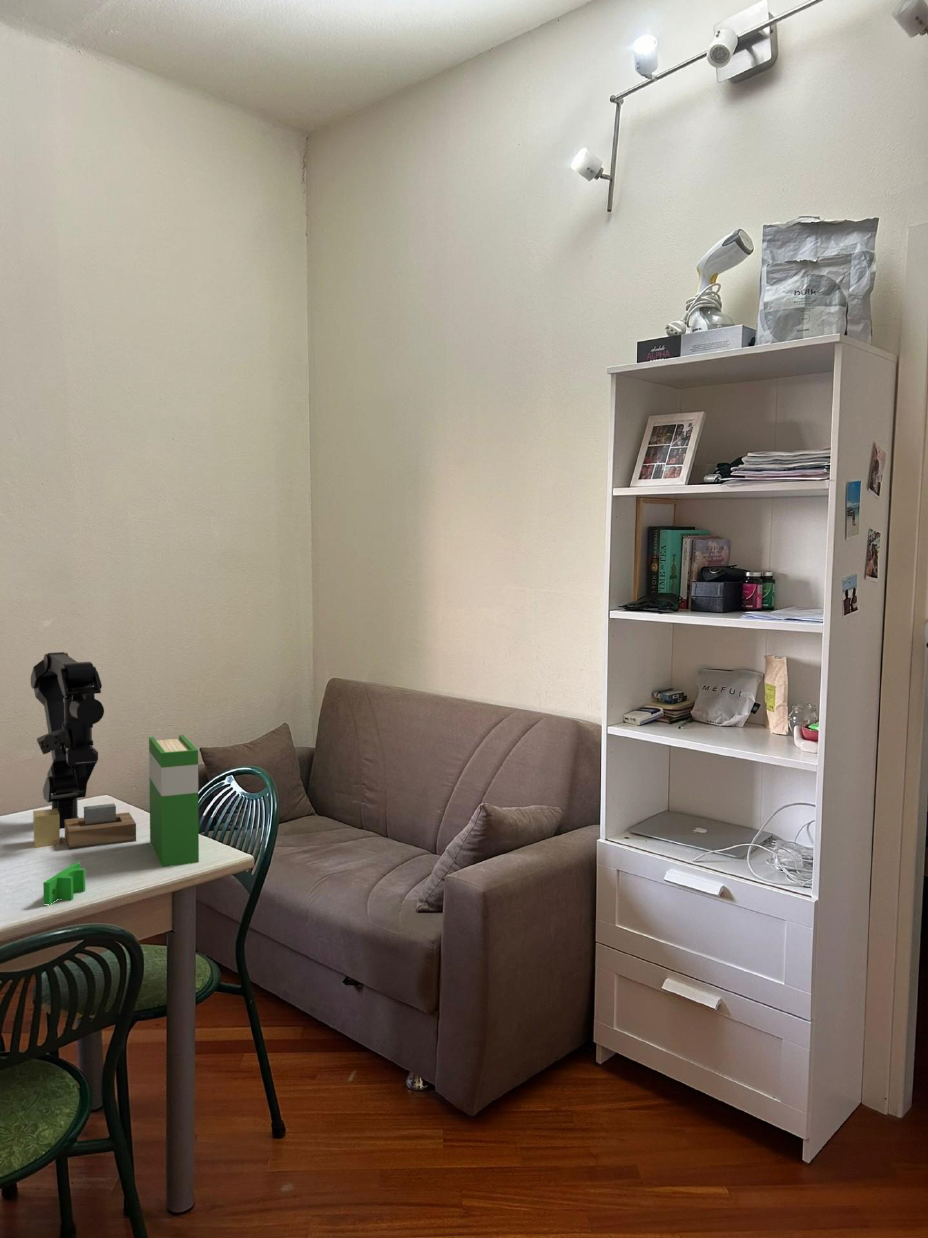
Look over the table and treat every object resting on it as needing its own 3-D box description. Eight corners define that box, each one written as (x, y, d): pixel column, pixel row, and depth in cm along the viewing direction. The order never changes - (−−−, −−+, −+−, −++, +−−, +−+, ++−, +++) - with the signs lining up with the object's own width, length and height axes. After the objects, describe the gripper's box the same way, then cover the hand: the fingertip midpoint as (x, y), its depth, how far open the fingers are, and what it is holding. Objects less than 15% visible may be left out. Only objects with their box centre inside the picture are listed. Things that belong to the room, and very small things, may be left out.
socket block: (64, 837, 213) (64, 819, 213) (129, 829, 219) (129, 812, 219) (69, 849, 204) (68, 831, 204) (136, 841, 211) (136, 823, 210)
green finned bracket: (62, 908, 172) (62, 884, 172) (43, 907, 172) (43, 882, 172) (93, 886, 183) (92, 863, 183) (75, 884, 184) (74, 862, 183)
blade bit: (84, 837, 211) (83, 806, 211) (114, 833, 214) (114, 803, 214) (85, 840, 209) (85, 809, 209) (116, 836, 212) (115, 806, 212)
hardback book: (150, 842, 210) (149, 737, 208) (184, 838, 213) (183, 735, 211) (162, 867, 194) (161, 753, 192) (198, 862, 197) (198, 750, 195)
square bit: (33, 841, 209) (33, 811, 209) (57, 838, 212) (57, 808, 211) (35, 848, 205) (34, 817, 204) (59, 845, 207) (59, 814, 207)
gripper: (36, 713, 215) (37, 780, 216) (42, 727, 198) (43, 800, 200) (87, 710, 220) (88, 775, 221) (97, 723, 204) (98, 794, 205)
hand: (79, 785), depth 212 cm, fingers open, 9 cm apart
